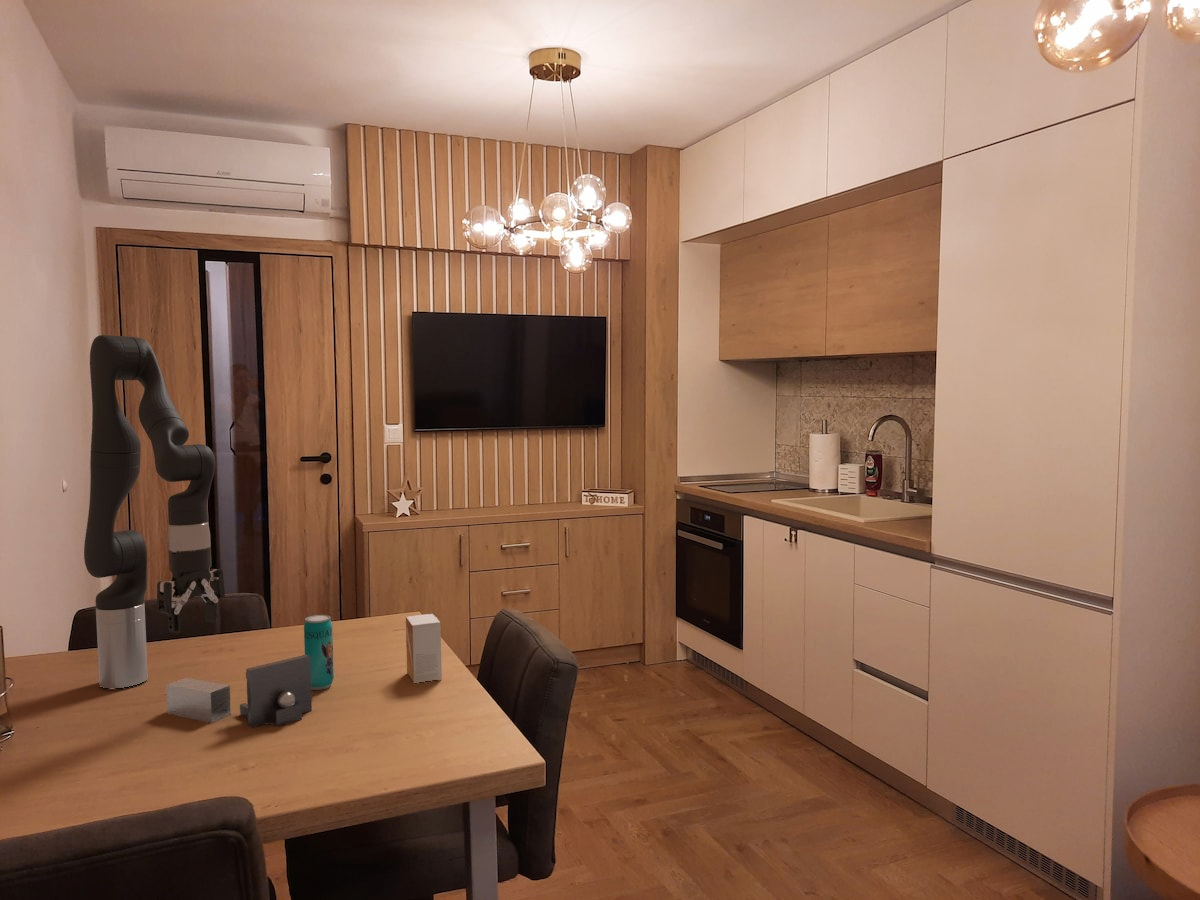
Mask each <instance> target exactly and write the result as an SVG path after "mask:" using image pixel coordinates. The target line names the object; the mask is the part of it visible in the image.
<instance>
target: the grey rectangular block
mask: <svg viewBox="0 0 1200 900" xmlns="http://www.w3.org/2000/svg"><path fill="white" fill-rule="evenodd" d="M165 688H166V691H165V692H166V693H165V694H166V714H167V713H168V714H167V715H171V714H173V715H172V716H176V715H177V716H176V717H182V718H187V719H191V720H197V721H200V722H207V723H211V724H212V723H215V722H216V721H217V722H218V721H219V720H222V719H224V718H226V717H229V716H231V715H232V714H231V690H230V689H231V685H229V684H223V683H217V682H212V681H207V680H202V679H195V678H190V677H189V678H188V677H184V678H181V679H178V680H176V681H172V682H169V683H167V684H166V686H165Z"/></svg>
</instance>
